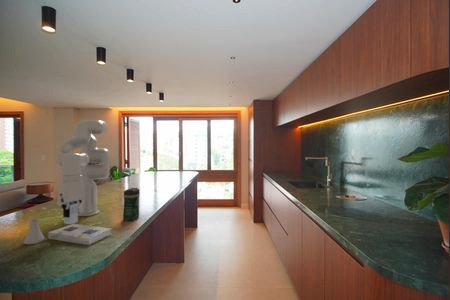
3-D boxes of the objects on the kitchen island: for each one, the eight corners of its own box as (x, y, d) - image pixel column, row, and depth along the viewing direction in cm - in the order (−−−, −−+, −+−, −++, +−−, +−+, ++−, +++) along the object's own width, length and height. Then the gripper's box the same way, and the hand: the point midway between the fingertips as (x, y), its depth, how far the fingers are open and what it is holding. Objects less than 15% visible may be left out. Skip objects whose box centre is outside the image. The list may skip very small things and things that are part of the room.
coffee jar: (134, 221, 134) (134, 189, 134) (121, 221, 134) (121, 189, 134) (141, 216, 144) (141, 187, 143) (129, 216, 144) (129, 186, 144)
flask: (31, 238, 107) (31, 217, 107) (48, 238, 108) (48, 217, 108) (19, 245, 100) (19, 222, 100) (36, 245, 101) (37, 222, 101)
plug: (63, 223, 110) (64, 198, 110) (71, 221, 114) (71, 197, 114) (71, 224, 109) (71, 199, 109) (78, 221, 113) (79, 197, 113)
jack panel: (48, 238, 108) (48, 230, 108) (73, 229, 120) (73, 222, 120) (88, 245, 101) (89, 237, 101) (111, 234, 113) (111, 227, 113)
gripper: (80, 176, 121) (80, 211, 121) (48, 180, 105) (47, 220, 105) (91, 176, 119) (91, 212, 119) (60, 180, 103) (60, 221, 103)
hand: (70, 215), depth 112 cm, fingers closed on plug, 4 cm apart
